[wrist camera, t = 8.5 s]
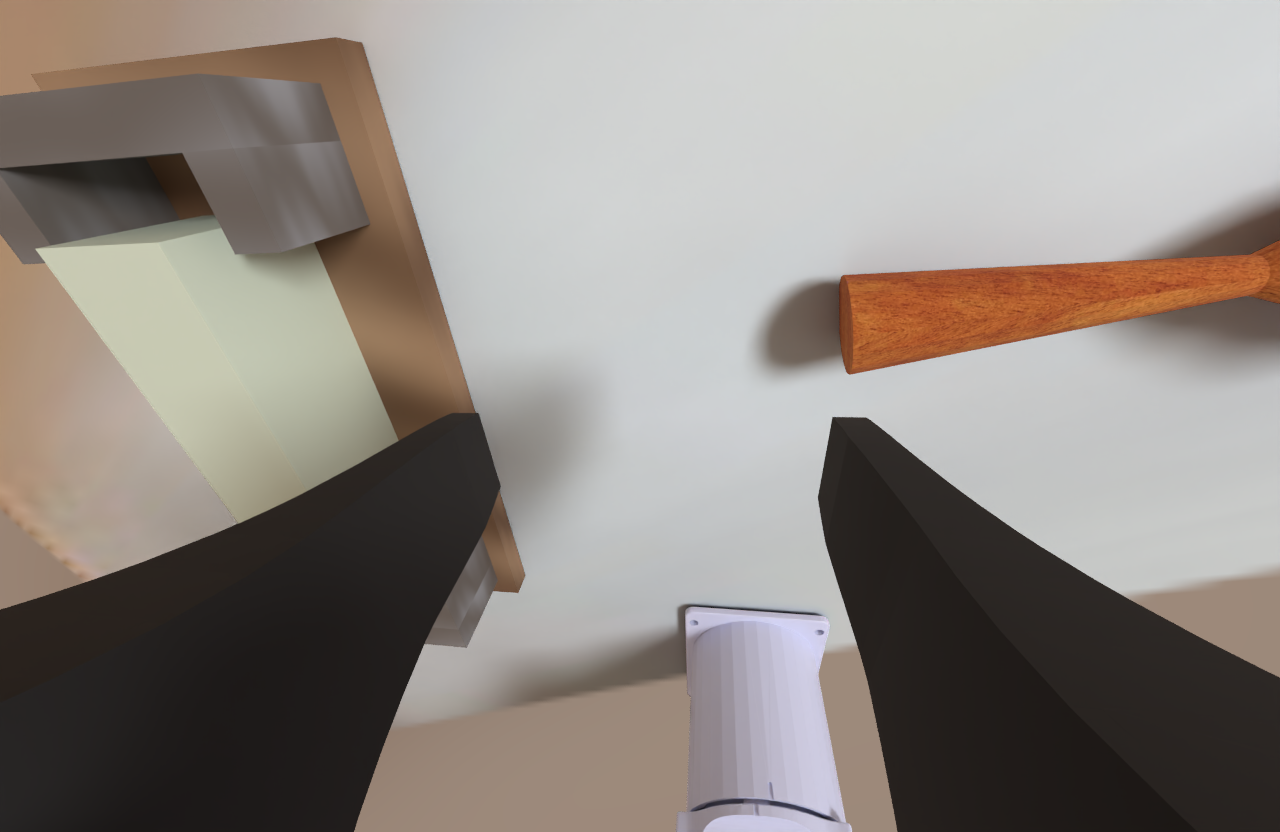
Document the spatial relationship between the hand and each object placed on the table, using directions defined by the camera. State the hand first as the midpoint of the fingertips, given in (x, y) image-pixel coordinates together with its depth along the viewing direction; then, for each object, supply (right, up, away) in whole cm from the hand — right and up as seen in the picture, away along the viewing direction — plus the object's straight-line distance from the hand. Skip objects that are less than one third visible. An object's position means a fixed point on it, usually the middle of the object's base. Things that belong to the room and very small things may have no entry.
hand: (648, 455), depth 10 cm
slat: (-14, +1, +11) cm, 18 cm away
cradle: (-13, +2, +12) cm, 18 cm away
